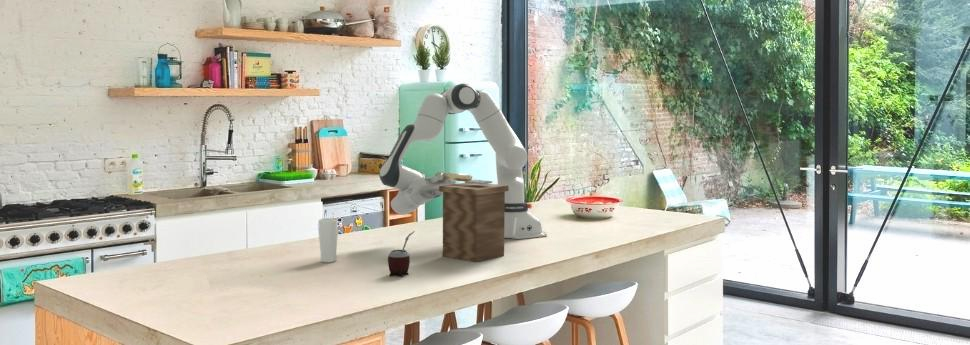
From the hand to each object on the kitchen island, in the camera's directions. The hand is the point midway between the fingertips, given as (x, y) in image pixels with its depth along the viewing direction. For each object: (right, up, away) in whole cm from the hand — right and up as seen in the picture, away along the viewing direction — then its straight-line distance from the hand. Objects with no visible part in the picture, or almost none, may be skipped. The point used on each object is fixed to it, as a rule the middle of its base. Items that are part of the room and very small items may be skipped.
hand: (446, 174), depth 326 cm
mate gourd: (-13, -33, -39) cm, 53 cm away
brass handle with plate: (+6, -2, -5) cm, 8 cm away
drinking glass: (-41, -31, -18) cm, 54 cm away
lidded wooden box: (+10, -30, -6) cm, 32 cm away
